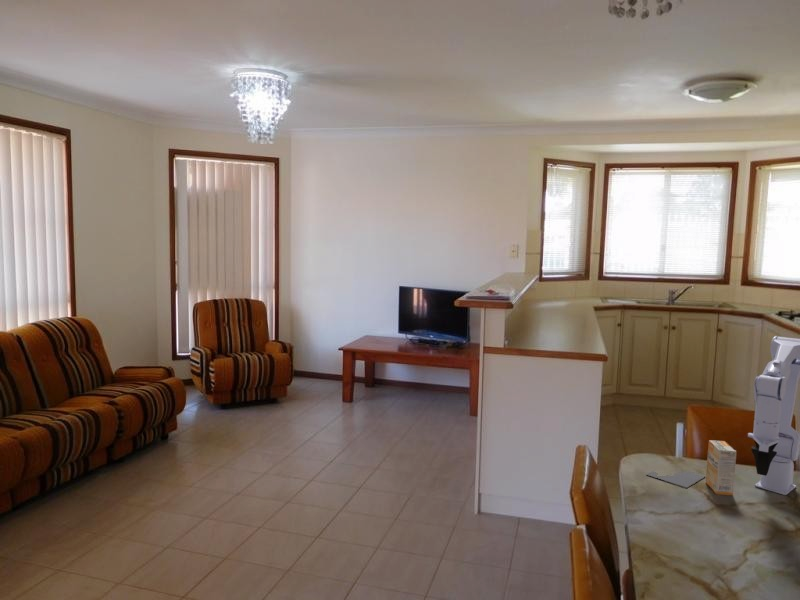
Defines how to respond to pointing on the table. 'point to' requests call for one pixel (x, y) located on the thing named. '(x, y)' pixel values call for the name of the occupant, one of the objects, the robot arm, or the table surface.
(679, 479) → the rubber mat
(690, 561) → the table surface
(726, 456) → the supplement box
